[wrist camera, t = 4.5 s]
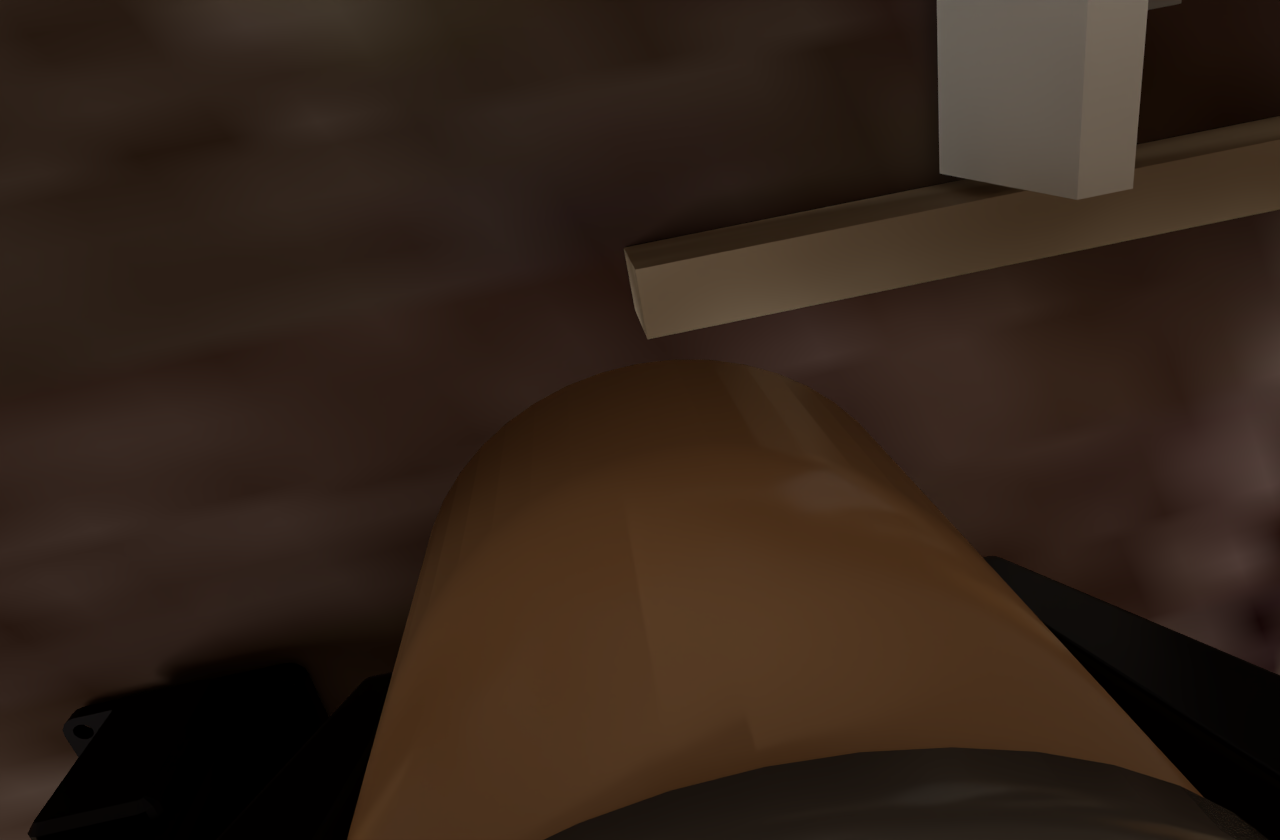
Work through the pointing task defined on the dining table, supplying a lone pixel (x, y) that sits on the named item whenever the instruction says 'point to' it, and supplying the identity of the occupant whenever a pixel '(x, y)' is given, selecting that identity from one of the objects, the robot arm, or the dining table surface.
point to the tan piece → (944, 232)
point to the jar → (736, 645)
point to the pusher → (1041, 92)
